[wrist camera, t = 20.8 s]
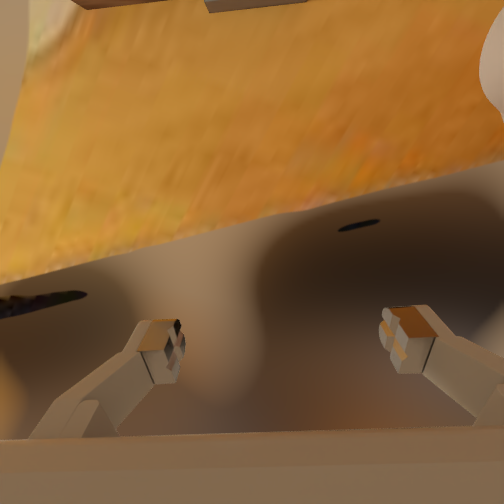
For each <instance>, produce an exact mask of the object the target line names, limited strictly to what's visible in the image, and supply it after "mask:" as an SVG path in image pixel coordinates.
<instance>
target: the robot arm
mask: <svg viewBox="0 0 504 504" xmlns="http://www.w3.org/2000/svg"><path fill="white" fill-rule="evenodd" d="M479 75H480V82H481V86H482V89H483V91H484V93H485V95H486V97H487V98H488V100H489V101H490V102H491V103H492V104H493V105H494V106H495V107H496V108H497V109H498V110H499V111H500V113H501V115H502V119H503V122H504V7H503V9H502V10H501V11H500V13H499V14H498V16H497V18H496V19H495V21H494V23H493V25H492V26H491V28H490V31H489V33H488V35H487V37H486V40H485V43H484V46H483V49H482V53H481V58H480V67H479ZM382 317H383V318H384V321H383V322H382V323H381V324H380V327H379V335H380V339H381V343H382V344H383V346H384V348H385V349H386V350H388V351H390V352H391V355H390V359H391V361H392V363H393V365H394V367H395V368H396V370H397V372H398V373H399V374H403V373H404V374H405V373H423V375H424V376H425V377H426V378H428V379H429V380H430V381H431V382H432V383H434V384H435V385H436V386H437V387H439V388H440V389H441V390H442V391H444V392H445V393H446V394H447V395H449V396H450V397H451V398H452V399H454V400H455V401H456V402H457V403H458V404H460V405H461V406H462V407H463V408H465V409H466V410H467V411H468V412H470V413H471V414H472V415H473V416H475V417H476V418H477V419H476V421H475V423H474V424H473V426H449V427H417V428H388V429H387V428H386V429H354V430H324V431H323V430H322V431H292V432H291V431H290V432H289V431H288V432H256V433H227V434H226V433H224V434H192V435H158V436H125V437H121V436H120V435H119V433H118V432H117V430H116V428H117V427H118V426H119V425H120V424H121V422H122V421H123V420H124V419H125V418H126V417H127V416H128V415H129V413H130V412H131V411H132V410H133V409H134V408H135V407H136V405H137V404H138V403H139V402H140V401H141V400H142V399H143V397H144V396H145V395H146V394H147V393H148V392H149V391H150V390H151V388H152V387H153V386H154V384H166V383H176V380H177V376H178V373H179V370H180V365H179V361H180V360H181V359H182V358H183V356H184V353H185V345H186V343H185V337H184V334H183V333H182V332H181V331H180V329H181V324H180V320H178V319H162V320H142V321H140V322H139V323H138V325H137V327H136V329H135V330H134V332H133V334H132V336H131V337H130V339H129V341H128V343H127V344H126V346H125V348H124V350H123V352H122V353H117V354H116V355H115V356H113V357H112V358H111V359H109V360H108V361H107V362H105V363H104V364H103V365H102V366H100V367H98V368H97V369H96V370H95V371H93V372H92V373H90V374H89V375H88V376H87V377H85V378H84V379H82V380H81V381H80V382H78V383H77V384H76V385H74V386H73V387H72V388H70V389H69V390H68V391H66V392H65V393H64V394H62V395H61V396H60V397H58V398H57V399H55V401H54V402H53V403H52V405H51V406H50V408H49V409H48V410H47V412H46V413H45V415H44V417H43V418H42V419H41V420H40V422H39V423H38V425H37V426H36V428H35V429H34V431H33V432H32V433H31V435H30V436H29V438H28V439H27V440H26V439H24V440H0V504H504V358H502V357H500V356H498V355H496V354H494V353H492V352H490V351H488V350H486V349H484V348H482V347H480V346H478V345H476V344H474V343H472V342H470V341H469V340H467V339H465V338H463V337H461V336H458V337H457V336H455V335H454V334H453V333H452V332H451V330H450V329H449V328H448V327H447V326H446V325H445V324H444V323H443V322H442V321H441V319H440V318H439V317H438V316H437V315H436V314H435V313H434V312H433V311H432V309H431V308H430V307H429V306H427V305H415V306H402V307H386V308H384V310H383V312H382Z"/></svg>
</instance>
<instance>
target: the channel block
mask: <svg viewBox="0 0 504 504" xmlns="http://www.w3.org/2000/svg"><path fill="white" fill-rule="evenodd" d="M71 1H73V2H75V3H76V4H78V5H80V6H81V7H83V8H85V9H86V10H90V9H98V8H107V7H115V6H123V5H132V4H140V3H149V2H157V1H165V0H71Z"/></svg>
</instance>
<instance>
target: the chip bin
mask: <svg viewBox="0 0 504 504" xmlns="http://www.w3.org/2000/svg"><path fill="white" fill-rule="evenodd" d="M204 2H205V4H206V7H207V9H208V11H209V13H215V12H224V11H233V10H241V9H250V8H259V7H267V6H276V5H285V4H293V3H302V2H307V0H204Z"/></svg>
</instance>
